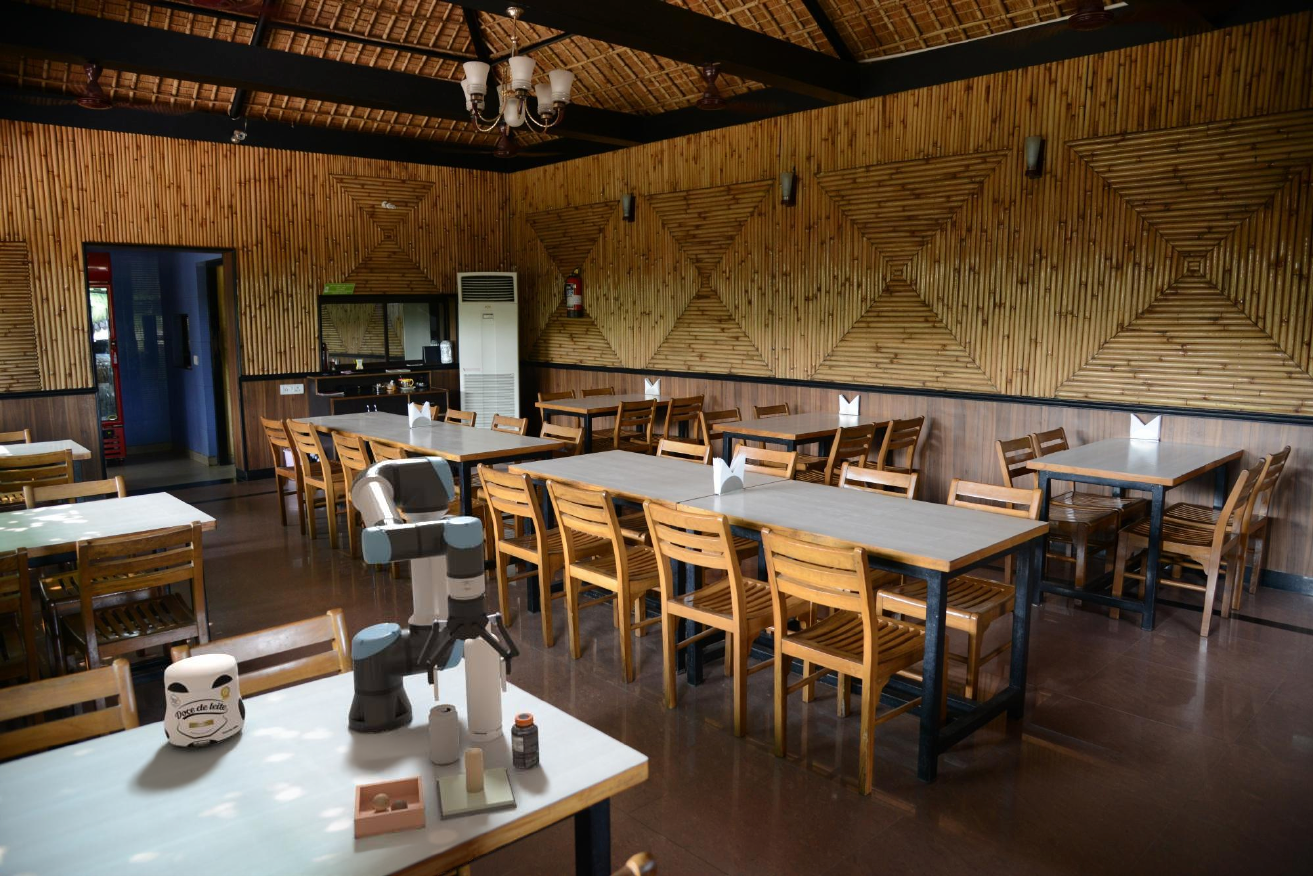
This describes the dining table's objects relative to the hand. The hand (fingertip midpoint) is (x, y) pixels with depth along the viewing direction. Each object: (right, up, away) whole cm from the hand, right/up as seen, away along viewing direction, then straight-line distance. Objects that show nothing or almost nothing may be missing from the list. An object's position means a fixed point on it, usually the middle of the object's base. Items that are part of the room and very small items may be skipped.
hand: (470, 694), depth 182 cm
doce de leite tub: (-70, -19, +31) cm, 79 cm away
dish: (-15, -23, -5) cm, 28 cm away
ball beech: (-17, -21, -4) cm, 27 cm away
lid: (0, -21, +2) cm, 21 cm away
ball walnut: (-13, -21, -6) cm, 25 cm away
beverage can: (-9, -20, +18) cm, 28 cm away
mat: (0, -22, +3) cm, 22 cm away
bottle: (-3, -18, +30) cm, 35 cm away
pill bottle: (+9, -20, +15) cm, 27 cm away
